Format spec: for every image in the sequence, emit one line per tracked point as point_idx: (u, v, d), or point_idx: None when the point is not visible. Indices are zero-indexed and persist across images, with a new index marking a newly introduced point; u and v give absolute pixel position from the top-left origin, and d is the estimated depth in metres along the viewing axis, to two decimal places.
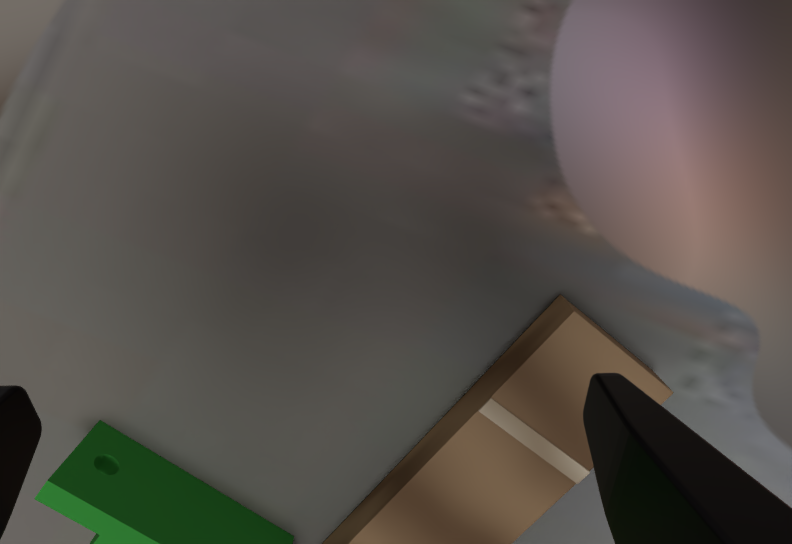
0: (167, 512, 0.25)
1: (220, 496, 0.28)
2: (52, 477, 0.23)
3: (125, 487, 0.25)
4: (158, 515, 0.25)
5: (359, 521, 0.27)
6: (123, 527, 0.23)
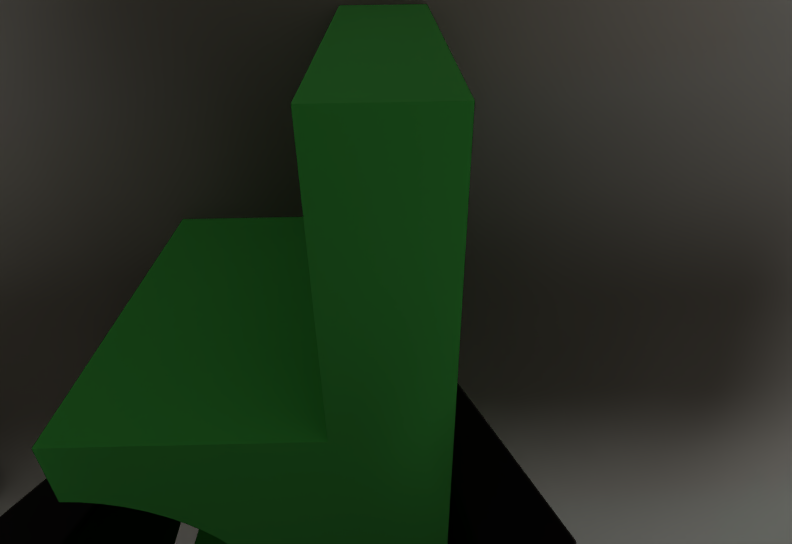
0: None
1: None
2: None
3: None
4: None
5: None
6: (433, 480, 0.05)
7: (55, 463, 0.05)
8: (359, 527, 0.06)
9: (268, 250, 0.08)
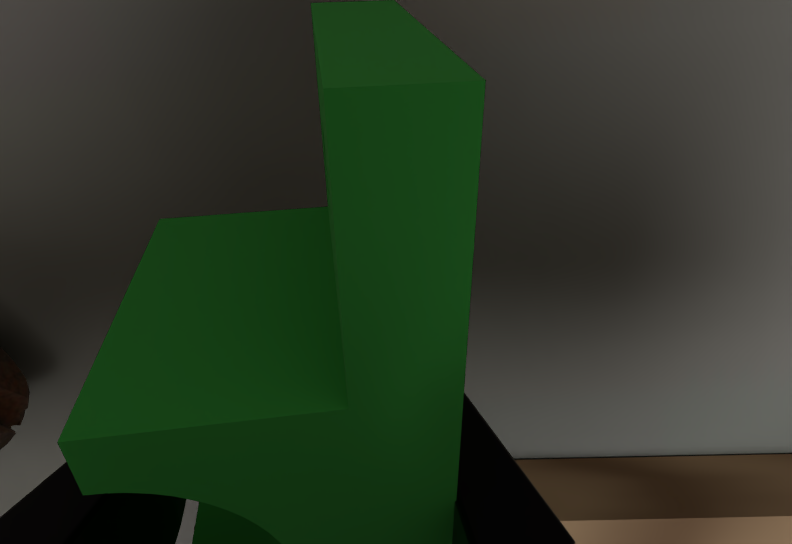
0: None
1: None
2: None
3: None
4: None
5: (559, 498, 0.16)
6: (444, 437, 0.06)
7: (81, 455, 0.05)
8: (376, 490, 0.06)
9: (253, 243, 0.08)
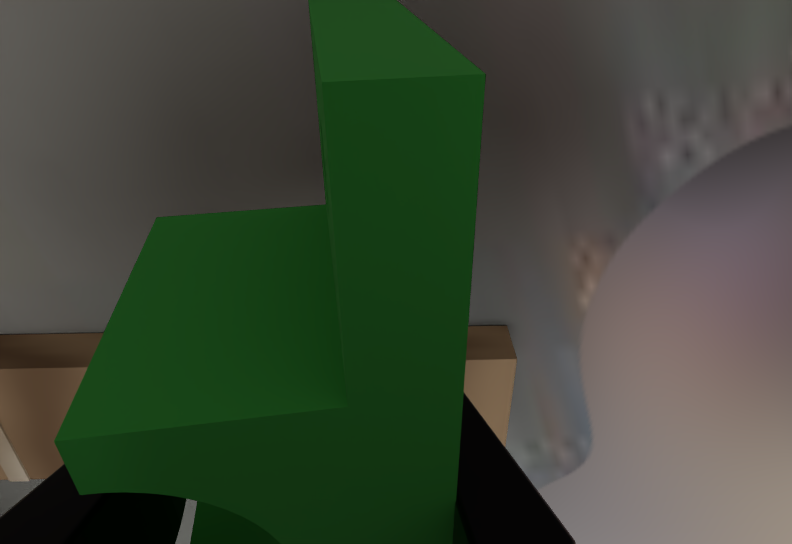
0: None
1: None
2: None
3: None
4: None
5: None
6: (443, 435, 0.06)
7: (78, 454, 0.05)
8: (376, 488, 0.06)
9: (251, 241, 0.08)
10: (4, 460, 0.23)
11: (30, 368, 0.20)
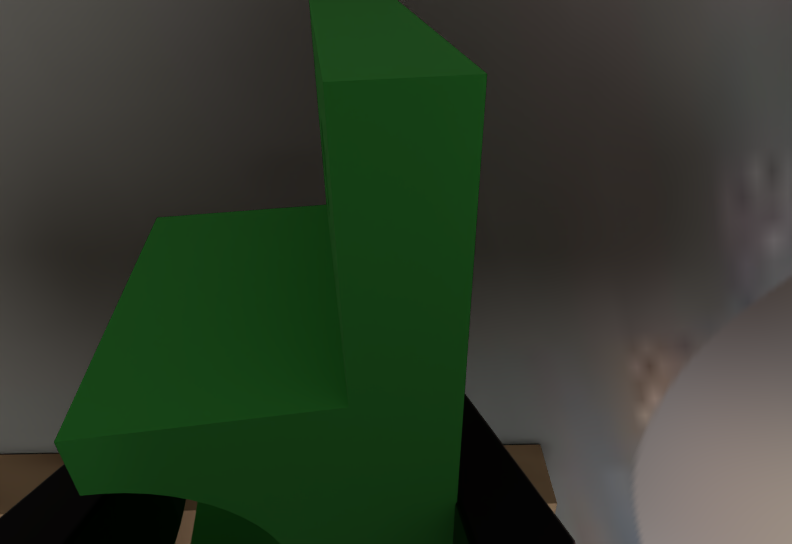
0: None
1: None
2: None
3: None
4: None
5: None
6: (444, 434, 0.06)
7: (78, 455, 0.05)
8: (376, 489, 0.06)
9: (251, 241, 0.08)
10: None
11: None
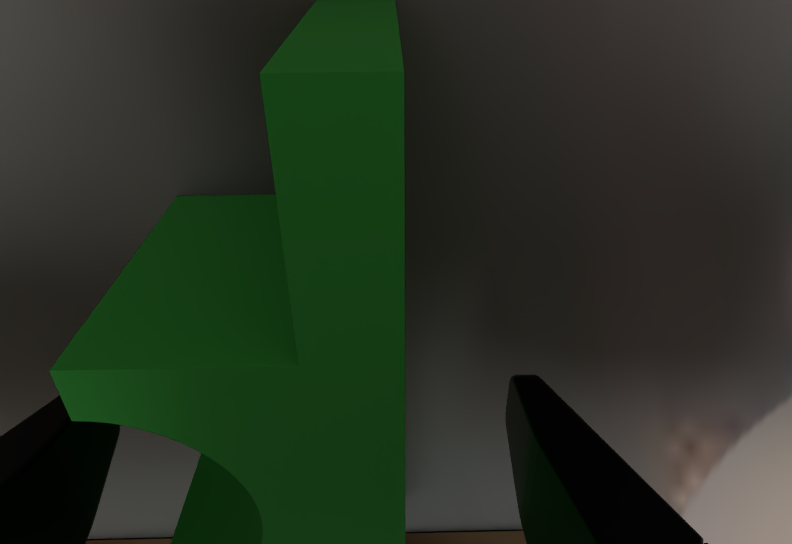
0: None
1: None
2: None
3: None
4: None
5: None
6: (388, 402, 0.06)
7: (69, 384, 0.06)
8: (328, 446, 0.07)
9: (255, 218, 0.09)
10: None
11: None
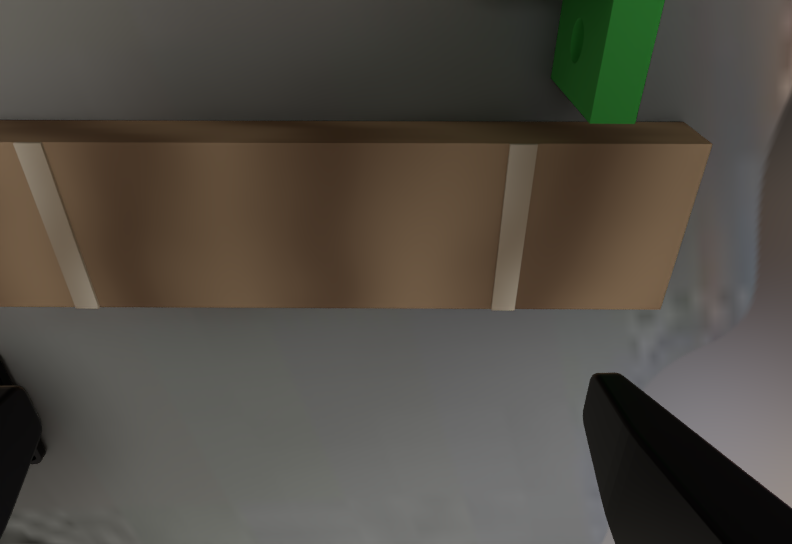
0: None
1: None
2: None
3: None
4: None
5: (230, 134, 0.17)
6: None
7: None
8: None
9: None
10: (70, 279, 0.19)
11: (112, 142, 0.17)
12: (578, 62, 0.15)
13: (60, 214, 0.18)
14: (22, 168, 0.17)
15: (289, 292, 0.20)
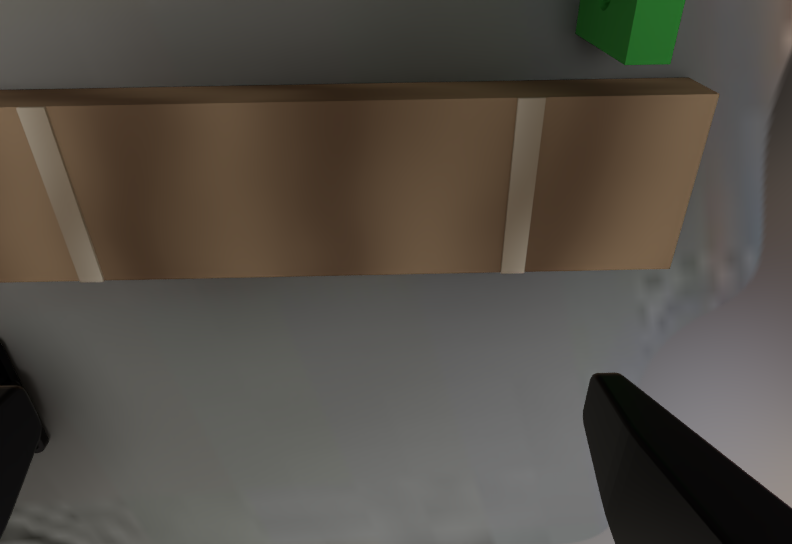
0: None
1: None
2: None
3: None
4: None
5: (236, 96, 0.17)
6: None
7: None
8: None
9: None
10: (74, 251, 0.19)
11: (116, 105, 0.16)
12: (608, 8, 0.15)
13: (64, 182, 0.18)
14: (26, 134, 0.17)
15: (297, 260, 0.19)
